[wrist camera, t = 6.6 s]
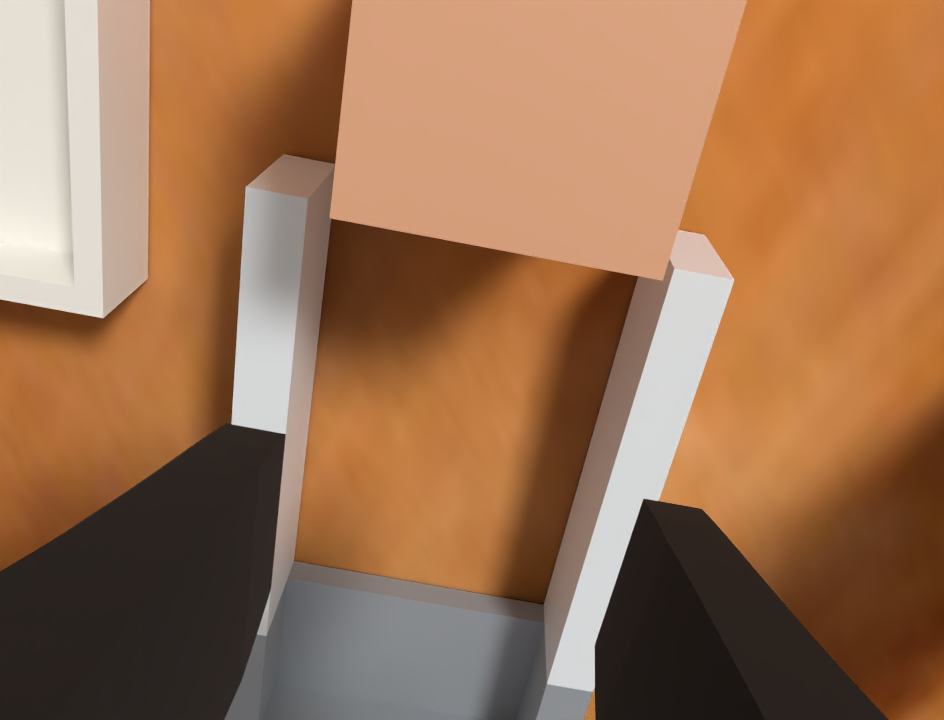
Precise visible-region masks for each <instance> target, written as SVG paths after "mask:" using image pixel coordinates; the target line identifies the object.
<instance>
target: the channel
mask: <svg viewBox="0 0 944 720" xmlns="http://www.w3.org/2000/svg"><path fill="white" fill-rule="evenodd" d="M334 171H335V164H333V163H328V162H322V161H317V160H312V159H307V158H302V157H296V156H291V155H286V154H283V155H282V156H281V157H280V158H279V159H277V160H276V161H275V162H274V163H273V164H272V165H271V166H269V167H268V168H267V169H266V170H265V171H264V172H262V173H261V174H260V175H259V176H258V177H257V178H255V179H254V180H253V181H252V182H251V183H250V184H249V185H247V186H246V191H245V208H244V225H243V241H242V258H241V274H240V291H239V307H238V324H237V340H236V357H235V373H234V390H233V406H232V423H231V424H232V425H238V426H244V427H249V428H255V429H260V430H266V431H271V432H277V433H282V434H286V437H285V447H284V458H283V468H282V479H281V489H280V500H279V511H278V521H277V532H276V542H275V553H274V563H273V574H272V584H271V591H270V594H269V597H268V600H267V604H266V607H265V610H264V613H263V616H262V620H261V623H260V626H259V629H258V632H257V635H263V636H267V633H268V631H269V628H270V625H271V622H272V620H273V617H274V614H275V611H276V609H277V606H278V603H279V601H280V598H281V595H282V592H283V590H284V587H285V584H286V582H287V579H288V576H289V573H290V571H291V568H292V565H293V562H294V557H295V547H296V538H297V529H298V520H299V511H300V502H301V492H302V483H303V474H304V465H305V456H306V446H307V437H308V428H309V419H310V410H311V400H312V391H313V382H314V373H315V364H316V355H317V345H318V336H319V327H320V318H321V309H322V299H323V290H324V281H325V272H326V263H327V253H328V244H329V235H330V226H331V218H330V209H331V199H332V190H333V180H334ZM733 283H734V278H733V277H732V275H731V274H730V272H729V271H728V269H727V268H726V266H725V265H724V263H723V262H722V260H721V259H720V257H719V256H718V254H717V253H716V251H715V250H714V248H713V247H712V245H711V244H710V242H709V241H708V239H707V238H706V236H705V235H703V234H697V233H692V232H687V231H682V230H678V232H677V235H676V239H675V242H674V245H673V248H672V252H671V255H670V258H669V262H668V265H667V268H666V272H665V275H664V278H663V281H661V280H656V279H651V278H645V277H640V276H638V279H637V282H636V285H635V289H634V292H633V296H632V299H631V303H630V306H629V310H628V313H627V317H626V320H625V324H624V327H623V331H622V334H621V338H620V341H619V345H618V348H617V352H616V355H615V358H614V362H613V365H612V369H611V372H610V376H609V379H608V383H607V386H606V390H605V393H604V397H603V400H602V404H601V407H600V411H599V414H598V418H597V421H596V425H595V428H594V431H593V435H592V438H591V442H590V445H589V449H588V452H587V456H586V459H585V463H584V466H583V470H582V473H581V477H580V480H579V484H578V487H577V491H576V494H575V498H574V501H573V504H572V508H571V511H570V515H569V518H568V522H567V525H566V529H565V532H564V536H563V539H562V543H561V546H560V550H559V553H558V557H557V560H556V564H555V567H554V571H553V574H552V577H551V581H550V584H549V588H548V591H547V595H546V598H545V602H544V626H545V651H546V676H547V684H549V685H555V686H561V687H567V688H572V689H578V690H584V691H590V692H593V690H594V687H595V643H596V640H597V637H598V634H599V631H600V628H601V625H602V622H603V619H604V616H605V613H606V610H607V607H608V604H609V601H610V598H611V595H612V592H613V589H614V586H615V583H616V580H617V577H618V574H619V571H620V568H621V565H622V562H623V559H624V556H625V553H626V550H627V547H628V544H629V541H630V538H631V535H632V532H633V529H634V526H635V523H636V520H637V517H638V514H639V511H640V508H641V505H642V502H643V499H649V500H654V501H659V498H660V495H661V492H662V489H663V486H664V484H665V481H666V478H667V475H668V472H669V469H670V466H671V463H672V460H673V457H674V454H675V451H676V449H677V446H678V443H679V440H680V437H681V434H682V431H683V428H684V425H685V422H686V419H687V417H688V414H689V411H690V408H691V405H692V402H693V399H694V396H695V393H696V390H697V387H698V384H699V382H700V379H701V376H702V373H703V370H704V367H705V364H706V361H707V358H708V355H709V352H710V350H711V347H712V344H713V341H714V338H715V335H716V332H717V329H718V326H719V323H720V320H721V318H722V315H723V312H724V309H725V306H726V303H727V300H728V297H729V294H730V291H731V288H732V285H733Z"/></svg>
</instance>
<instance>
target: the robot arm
mask: <svg viewBox="0 0 944 720" xmlns="http://www.w3.org/2000/svg"><path fill="white" fill-rule="evenodd" d="M285 437H286V434H282V433H277V432H271V431H266V430H260V429H255V428H249V427H244V426H238V425H232V424H227V423H226V424H224V425H223V426H221V427H220V428H218V429H217V430H215V431H214V432H212V433H211V434H209V435H208V436H206V437H205V438H203V439H202V440H200V441H199V442H197V443H196V444H194V445H193V446H191V447H190V448H189V449H187V450H186V451H184V452H183V453H181V454H180V455H179V456H177V457H176V458H174V459H173V460H171V461H170V462H169V463H167V464H166V465H164V466H163V467H162V468H160V469H159V470H157V471H156V472H154V473H153V474H151V475H150V476H149V477H147V478H146V479H144V480H143V481H141V482H140V483H138V484H137V485H136V486H134V487H133V488H131V489H130V490H128V491H127V492H125V493H124V494H122V495H121V496H119V497H118V498H116V499H115V500H113V501H112V502H110V503H109V504H107V505H106V506H104V507H103V508H101V509H100V510H98V511H97V512H95V513H94V514H92V515H91V516H89V517H87V518H86V519H84V520H83V521H81V522H80V523H78V524H77V525H75V526H74V527H72V528H71V529H69V530H68V531H66V532H65V533H63V534H62V535H60V536H58V537H57V538H55V539H54V540H52V541H51V542H49V543H47V544H46V545H44V546H42V547H41V548H39V549H37V550H36V551H34V552H32V553H31V554H29V555H27V556H26V557H24V558H22V559H21V560H19V561H17V562H16V563H14V564H12V565H11V566H9V567H7V568H6V569H4V570H2V571H0V720H224V719H225V717H226V715H227V713H228V710H229V708H230V706H231V704H232V701H233V699H234V697H235V695H236V692H237V690H238V688H239V685H240V683H241V681H242V678H243V675H244V672H245V669H246V666H247V663H248V660H249V657H250V654H251V651H252V648H253V645H254V642H255V639H256V636H257V632H258V629H259V626H260V623H261V620H262V616H263V613H264V610H265V607H266V604H267V600H268V597H269V594H270V591H271V584H272V574H273V563H274V553H275V542H276V532H277V521H278V511H279V500H280V489H281V479H282V468H283V458H284V447H285ZM595 712H596V720H888V718H887V717H886V716H885V715H884V714H883V713H882V712H881V711H880V710H879V709H878V708H877V707H876V706H875V705H874V704H873V703H872V702H871V701H870V700H869V698H868V697H867V696H866V695H865V694H864V693H863V692H862V691H861V690H860V689H859V688H858V687H857V686H856V684H855V683H854V682H853V681H852V680H851V679H850V678H849V677H848V676H847V675H846V674H845V673H844V671H843V670H842V669H841V668H840V667H839V666H838V665H837V664H836V663H835V661H834V660H833V659H832V658H831V657H830V656H829V655H828V654H827V653H826V651H825V650H824V649H823V648H822V647H821V646H820V645H819V643H818V642H817V641H816V640H815V639H814V638H813V637H812V635H811V634H810V633H809V632H808V631H807V630H806V629H805V628H804V626H803V625H802V624H801V623H800V622H799V621H798V619H797V618H796V617H795V616H794V615H793V614H792V613H791V611H790V610H789V609H788V608H787V607H786V606H785V604H784V603H783V602H782V601H781V600H780V599H779V597H778V596H777V595H776V594H775V593H774V591H773V590H772V589H771V588H770V587H769V586H768V584H767V583H766V582H765V581H764V580H763V579H762V577H761V576H760V575H759V574H758V573H757V571H756V570H755V569H754V568H753V567H752V566H751V564H750V563H749V562H748V561H747V560H746V558H745V557H744V556H743V555H742V554H741V553H740V551H739V550H738V549H737V548H736V547H735V546H734V544H733V543H732V542H731V541H730V540H729V539H728V537H727V536H726V535H725V534H724V533H723V532H722V531H721V529H720V528H719V527H718V526H717V525H716V524H715V523H714V522H713V520H712V519H711V518H710V517H709V516H708V515H707V514H706V513H705V512H704V511H703V510H702V509H699V508H693V507H687V506H682V505H676V504H671V503H665V502H660V501H654V500H649V499H643V502H642V505H641V508H640V511H639V514H638V517H637V520H636V523H635V526H634V529H633V532H632V535H631V538H630V541H629V544H628V547H627V550H626V553H625V556H624V559H623V562H622V565H621V568H620V571H619V574H618V577H617V580H616V583H615V586H614V589H613V592H612V595H611V598H610V601H609V604H608V607H607V610H606V613H605V616H604V619H603V622H602V625H601V628H600V631H599V634H598V637H597V640H596V643H595Z"/></svg>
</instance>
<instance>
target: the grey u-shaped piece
mask: <svg viewBox="0 0 944 720" xmlns="http://www.w3.org/2000/svg"><path fill="white" fill-rule="evenodd" d="M592 693H593V692H590V691H584V690H578V689H572V688H567V687H561V686H555V685H549V684H547V676H546V651H545V626H544V605H543V604H537V603H531V602H525V601H520V600H514V599H508V598H503V597H497V596H491V595H485V594H480V593H474V592H468V591H462V590H457V589H451V588H445V587H440V586H434V585H428V584H422V583H417V582H411V581H405V580H400V579H394V578H388V577H382V576H377V575H371V574H365V573H360V572H354V571H348V570H342V569H337V568H331V567H325V566H320V565H314V564H308V563H302V562H297V561H294V562H293V565H292V568H291V571H290V573H289V576H288V579H287V582H286V584H285V587H284V590H283V592H282V595H281V598H280V601H279V603H278V606H277V609H276V611H275V614H274V617H273V620H272V622H271V625H270V628H269V631H268V633H267V636H263V635H257V636H256V639H255V642H254V645H253V648H252V651H251V654H250V657H249V660H248V663H247V666H246V669H245V672H244V675H243V678H242V681H241V683H240V685H239V688H238V690H237V692H236V695H235V697H234V699H233V701H232V704H231V706H230V708H229V710H228V713H227V715H226V717H225V719H224V720H583V719H584V716H585V714H586V711H587V708H588V705H589V702H590V699H591V696H592Z"/></svg>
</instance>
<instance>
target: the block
mask: <svg viewBox="0 0 944 720" xmlns="http://www.w3.org/2000/svg"><path fill="white" fill-rule="evenodd" d="M746 3H747V0H352V10H351V19H350V29H349V38H348V48H347V57H346V67H345V76H344V86H343V95H342V104H341V114H340V123H339V133H338V142H337V152H336V161H335V171H334V180H333V190H332V199H331V209H330V218H331V219H337V220H342V221H347V222H353V223H358V224H363V225H369V226H374V227H379V228H385V229H390V230H395V231H401V232H406V233H411V234H417V235H422V236H427V237H433V238H438V239H443V240H448V241H454V242H459V243H464V244H470V245H475V246H480V247H486V248H491V249H496V250H502V251H507V252H512V253H518V254H523V255H528V256H534V257H539V258H544V259H550V260H555V261H560V262H566V263H571V264H576V265H581V266H587V267H592V268H597V269H603V270H608V271H613V272H619V273H624V274H629V275H635V276H640V277H645V278H651V279H656V280H661V281H663V278H664V275H665V272H666V268H667V265H668V262H669V258H670V255H671V252H672V248H673V245H674V242H675V239H676V235H677V232H678V229H679V225H680V222H681V219H682V215H683V212H684V209H685V205H686V202H687V199H688V195H689V192H690V189H691V185H692V182H693V179H694V175H695V172H696V169H697V165H698V162H699V159H700V155H701V152H702V149H703V145H704V142H705V139H706V135H707V132H708V129H709V126H710V122H711V119H712V116H713V112H714V109H715V106H716V102H717V99H718V96H719V92H720V89H721V86H722V82H723V79H724V76H725V72H726V69H727V66H728V62H729V59H730V56H731V52H732V49H733V46H734V42H735V39H736V36H737V32H738V29H739V26H740V22H741V19H742V16H743V13H744V9H745V6H746Z"/></svg>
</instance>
